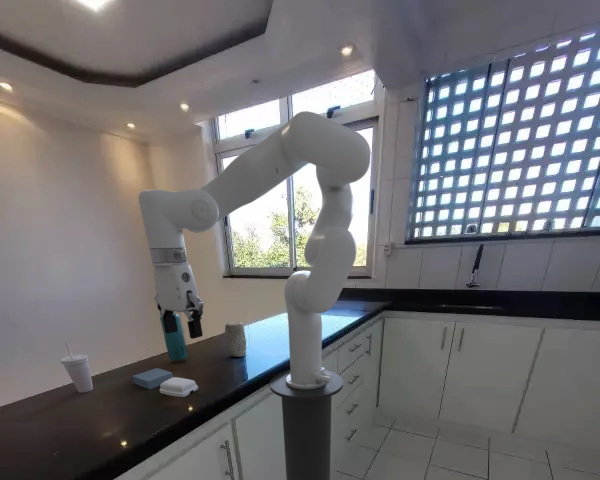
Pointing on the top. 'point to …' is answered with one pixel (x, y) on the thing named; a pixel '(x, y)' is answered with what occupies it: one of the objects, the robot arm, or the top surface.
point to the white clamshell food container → (178, 387)
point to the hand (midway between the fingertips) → (183, 334)
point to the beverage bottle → (175, 341)
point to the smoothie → (78, 370)
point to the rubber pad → (152, 378)
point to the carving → (235, 339)
